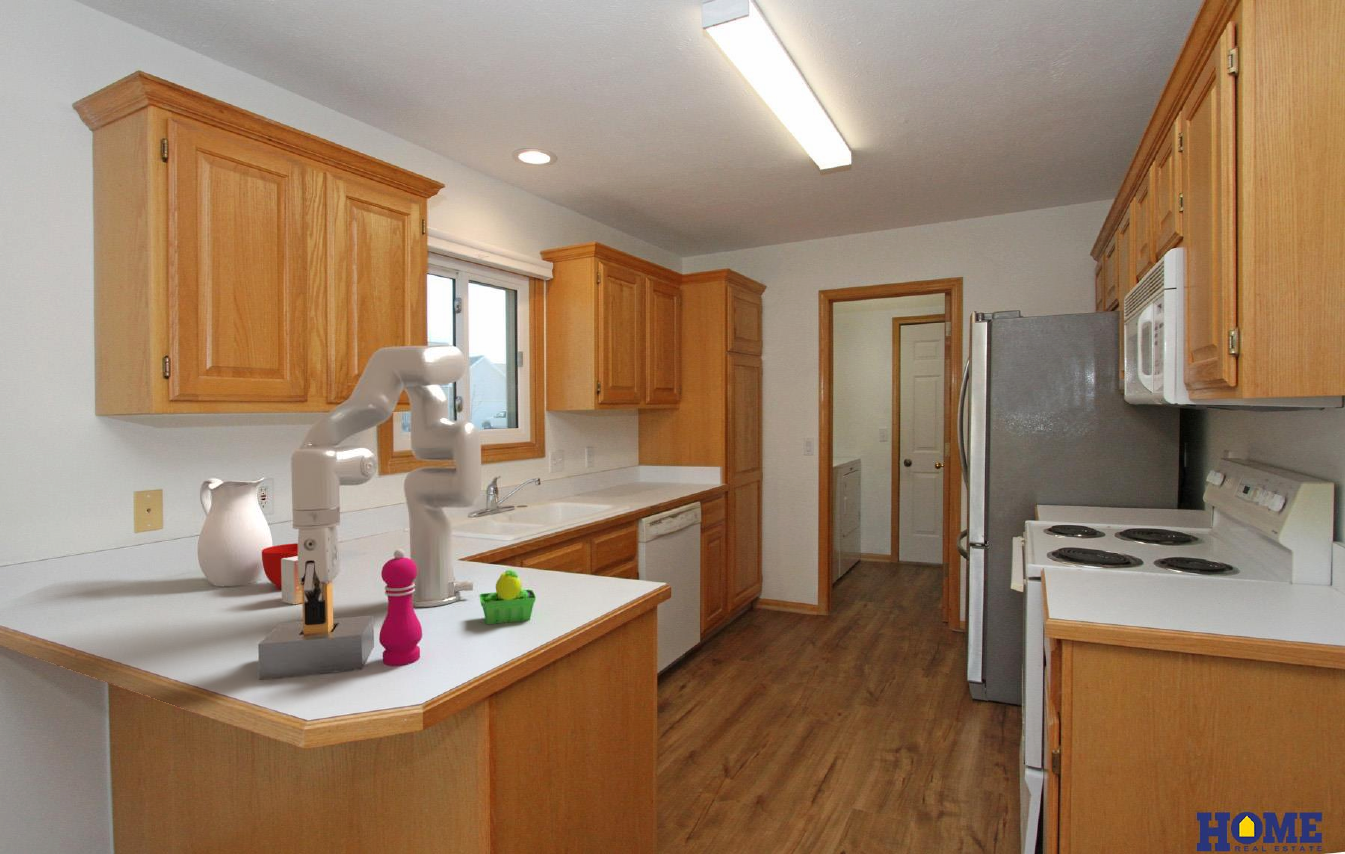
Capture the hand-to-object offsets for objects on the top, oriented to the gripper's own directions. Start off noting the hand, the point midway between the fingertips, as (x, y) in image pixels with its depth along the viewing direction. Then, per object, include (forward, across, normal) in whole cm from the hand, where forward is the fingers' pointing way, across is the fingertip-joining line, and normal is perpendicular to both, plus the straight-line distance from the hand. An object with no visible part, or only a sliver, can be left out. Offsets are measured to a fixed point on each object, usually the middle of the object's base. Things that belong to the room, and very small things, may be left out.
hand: (318, 619), depth 122 cm
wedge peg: (+2, 0, 0) cm, 2 cm away
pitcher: (+8, +75, +39) cm, 85 cm away
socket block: (+8, 0, 0) cm, 8 cm away
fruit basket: (+8, +16, -33) cm, 38 cm away
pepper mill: (+8, -3, -14) cm, 16 cm away
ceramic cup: (+8, +63, +19) cm, 66 cm away
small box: (+8, +47, +14) cm, 50 cm away
